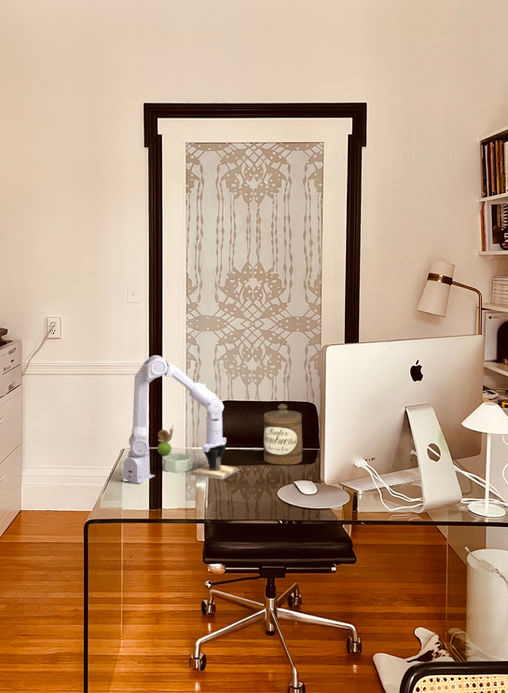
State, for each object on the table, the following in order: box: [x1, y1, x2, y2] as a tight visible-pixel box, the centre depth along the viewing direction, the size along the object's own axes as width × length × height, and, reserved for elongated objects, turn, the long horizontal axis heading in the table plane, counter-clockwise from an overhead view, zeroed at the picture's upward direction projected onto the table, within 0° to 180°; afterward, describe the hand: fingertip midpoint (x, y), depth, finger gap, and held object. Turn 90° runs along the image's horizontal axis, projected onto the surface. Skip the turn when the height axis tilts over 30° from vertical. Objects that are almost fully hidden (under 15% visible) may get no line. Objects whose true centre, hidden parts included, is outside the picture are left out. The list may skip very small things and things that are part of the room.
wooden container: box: [263, 403, 303, 466], centre depth 274 cm, size 15×15×22 cm
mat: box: [188, 468, 241, 481], centre depth 258 cm, size 14×14×1 cm
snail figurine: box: [157, 425, 174, 457], centre depth 282 cm, size 5×6×12 cm
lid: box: [191, 457, 238, 478], centre depth 258 cm, size 12×12×5 cm
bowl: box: [162, 453, 193, 473], centre depth 263 cm, size 10×10×5 cm
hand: (214, 466), depth 258 cm, fingers open, 3 cm apart
